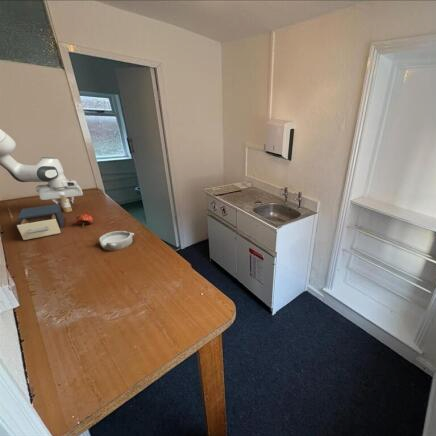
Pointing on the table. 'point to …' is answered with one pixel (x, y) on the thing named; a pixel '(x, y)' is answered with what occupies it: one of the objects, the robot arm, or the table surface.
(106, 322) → the table surface
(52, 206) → the cabinet
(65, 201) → the sprinkles bottle
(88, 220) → the red mushroom
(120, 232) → the dish
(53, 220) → the drawer
